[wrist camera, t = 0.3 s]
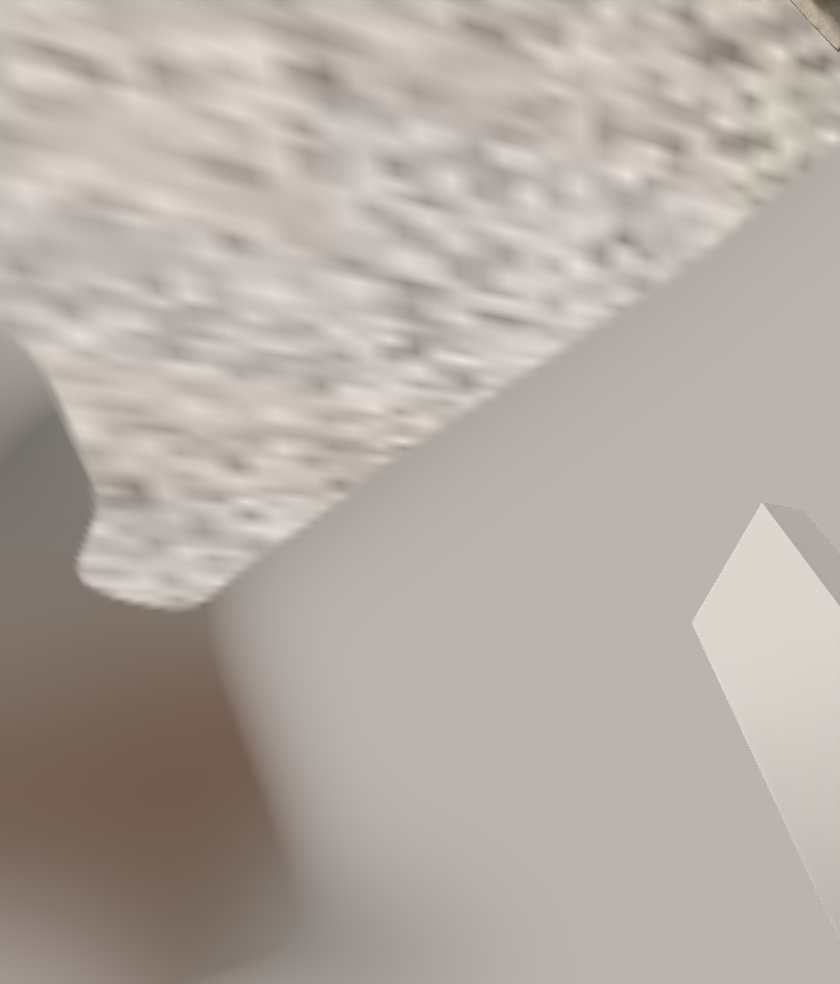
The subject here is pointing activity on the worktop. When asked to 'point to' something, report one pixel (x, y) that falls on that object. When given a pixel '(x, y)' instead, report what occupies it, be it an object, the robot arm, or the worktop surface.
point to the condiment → (823, 17)
